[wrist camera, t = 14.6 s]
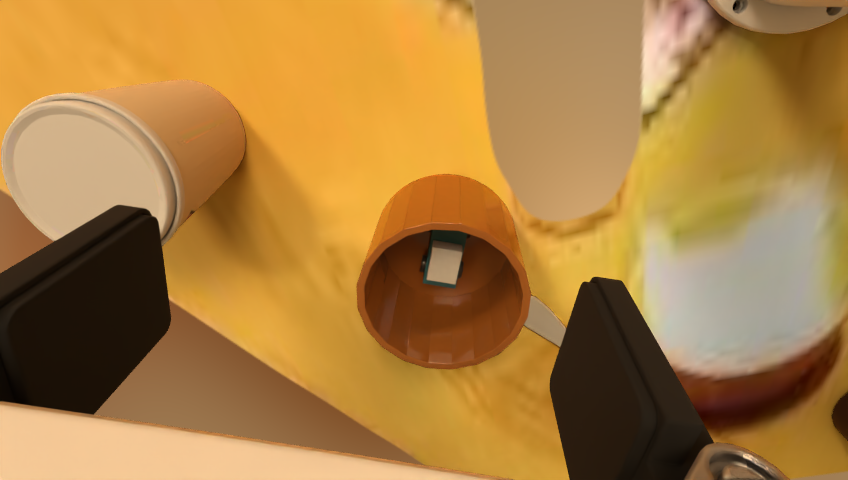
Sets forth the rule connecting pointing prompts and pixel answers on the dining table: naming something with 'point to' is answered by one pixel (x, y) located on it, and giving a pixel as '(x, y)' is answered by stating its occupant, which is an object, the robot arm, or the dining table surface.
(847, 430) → the bottle
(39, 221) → the coffee cup
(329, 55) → the dining table surface
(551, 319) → the butter knife
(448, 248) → the toy car
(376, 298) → the tumbler
